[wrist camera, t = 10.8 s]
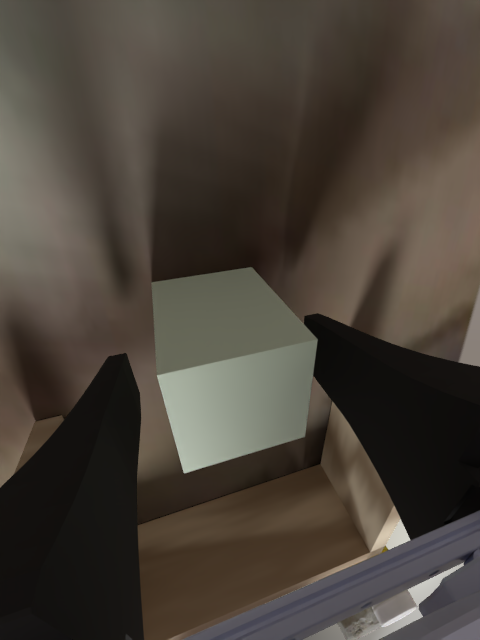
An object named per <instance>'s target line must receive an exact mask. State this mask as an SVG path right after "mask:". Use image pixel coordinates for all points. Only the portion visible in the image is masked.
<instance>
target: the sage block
mask: <svg viewBox="0 0 480 640" xmlns="http://www.w3.org/2000/svg"><path fill="white" fill-rule="evenodd" d="M152 296H153V314H154V332H155V350H156V367H157V377H158V381H159V385H160V388H161V392H162V396H163V399H164V403H165V406H166V410H167V414H168V417H169V421H170V425H171V428H172V432H173V436H174V439H175V443H176V446H177V450H178V454H179V457H180V461H181V465H182V468H183V472H184V473H188V472H191V471H194V470H198V469H201V468H204V467H207V466H211V465H214V464H217V463H220V462H224V461H227V460H230V459H234V458H237V457H240V456H243V455H247V454H250V453H253V452H257V451H260V450H263V449H266V448H270V447H273V446H276V445H280V444H283V443H286V442H289V441H293V440H296V439H299V438H303V437H305V432H306V424H307V417H308V409H309V402H310V394H311V386H312V379H313V371H314V363H315V356H316V348H317V341H318V339H317V338H316V337H315V336H314V335H313V334H312V333H311V332H310V330H309V329H308V328H307V327H306V326H305V325H304V324H303V323H302V322H301V321H300V319H299V318H298V317H297V316H296V315H295V314H294V313H293V312H292V311H291V310H290V309H289V307H288V306H287V305H286V304H285V303H284V302H283V301H282V300H281V299H280V298H279V296H278V295H277V294H276V293H275V292H274V291H273V290H272V289H271V288H270V287H269V285H268V284H267V283H266V282H265V281H264V280H263V279H262V278H261V277H260V276H259V274H258V273H257V272H256V271H255V270H254V269H253V268H252V267H249V268H242V269H236V270H229V271H223V272H216V273H210V274H203V275H197V276H190V277H184V278H177V279H170V280H164V281H157V282H152Z"/></svg>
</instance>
